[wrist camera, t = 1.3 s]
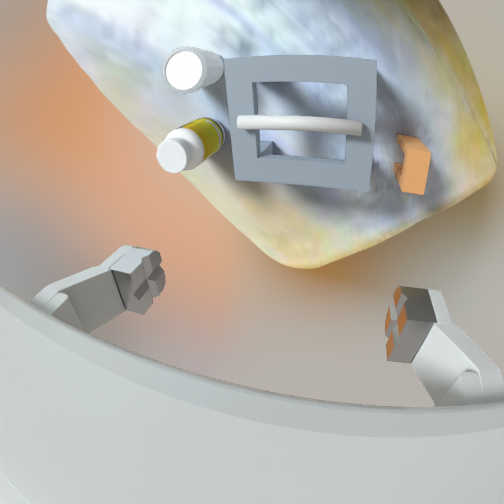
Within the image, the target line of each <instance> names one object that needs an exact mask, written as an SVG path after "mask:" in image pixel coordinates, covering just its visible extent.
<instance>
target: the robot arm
mask: <svg viewBox="0 0 504 504" xmlns="http://www.w3.org/2000/svg"><path fill="white" fill-rule="evenodd" d="M161 261H162V259H161V256H160V253H159V252H158V251H156V250H151V249H146V248H141V247H135V246H129V245H123V246H121V247H120V248H119V249H118V250H117V251H115V252H114V253H113V254H112V255H111V256H110V257H109V258H108V259H106V260H105V261H104V262H103V263H102V264H101V265H100V266H99V267H98V266H95V267H92V268H89V269H87V270H84V271H82V272H79V273H77V274H74V275H72V276H69V277H67V278H64V279H62V280H59V281H57V282H54V283H52V284H49V285H47V286H46V287H45V288H44V289H43V290H42V291H40V293H38V294H37V295H36V296H35V297H34V298H33V299H32V300H31V301H30V302H29V303H27V302H26V301H24V300H22V299H21V298H19V297H17V296H15V295H14V294H12V293H10V292H9V291H7V290H6V289H4V288H2V287H1V286H0V504H504V383H503V379H502V376H501V372H500V370H499V368H498V367H497V366H496V365H495V364H494V363H493V362H492V361H491V360H490V359H489V357H487V356H486V354H484V352H483V351H482V350H481V349H480V348H479V347H478V346H477V345H476V344H475V343H474V342H473V341H472V340H471V339H470V338H469V337H468V336H467V335H466V334H465V333H464V332H463V331H462V330H461V329H460V328H459V327H458V326H457V325H454V324H452V322H451V318H450V315H449V313H448V310H447V307H446V304H445V301H444V298H443V295H442V293H441V291H440V290H438V289H427V288H426V289H422V288H414V287H405V286H397V288H396V290H395V292H394V295H393V297H394V303H393V304H392V305H390V307H389V309H388V312H387V315H386V321H385V334H386V336H387V337H388V338H389V339H388V342H387V344H386V349H387V350H386V351H387V361H393V362H402V363H411V366H412V367H413V369H414V371H415V372H416V374H417V375H418V377H419V378H420V380H421V382H422V383H423V385H424V387H425V388H426V390H427V392H428V393H429V395H430V396H431V398H432V400H433V401H434V403H435V406H434V407H397V406H395V407H394V406H377V405H362V404H351V403H341V402H333V401H325V400H317V399H311V398H303V397H297V396H292V395H286V394H280V393H275V392H270V391H265V390H260V389H256V388H251V387H247V386H242V385H238V384H234V383H230V382H226V381H222V380H218V379H214V378H211V377H207V376H204V375H200V374H197V373H193V372H190V371H187V370H183V369H180V368H177V367H174V366H171V365H168V364H165V363H162V362H159V361H156V360H153V359H151V358H148V357H145V356H142V355H140V354H137V353H134V352H132V351H129V350H126V349H123V348H121V347H119V346H116V345H114V344H111V343H109V342H107V341H104V340H102V339H100V338H97V337H95V336H93V335H91V334H88V333H90V332H91V331H93V330H95V329H96V328H98V327H100V326H101V325H103V324H105V323H106V322H108V321H110V320H111V319H113V318H114V317H116V316H118V315H120V314H121V313H123V312H124V311H126V310H128V311H132V312H136V313H140V314H145V312H146V311H147V310H148V309H149V307H150V306H151V304H153V298H154V297H156V296H158V295H159V294H160V293H161V292H162V290H163V288H164V285H165V273H164V270H163V269H162V268H161V267H160V263H161Z"/></svg>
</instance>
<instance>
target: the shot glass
mask: <svg viewBox="0 0 504 504" xmlns="http://www.w3.org/2000/svg"><path fill="white" fill-rule="evenodd" d="M223 71H224V64H223V60H222V59H221V57H220V56H219V55H218V54H216V53H214V52H212V51H208V50H204V49H199V48H194V47H179V48H177V49H174V50H172V51H171V52H170V53H169V54H168V55H167V56H166V58H165V60H164V62H163V64H162V77H163V81H164V83H165V84H166V86H167V87H168V88H169V89H170V90H171V91H173V92H175V93H177V94H188V93H191V92H195V91H197V90H199V89H201V88H204V87H206V86H209V85H211V84H214V83H215V82H217V81H218V80H219V79H220V78H221V76H222V74H223Z"/></svg>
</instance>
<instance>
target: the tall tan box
mask: <svg viewBox="0 0 504 504" xmlns="http://www.w3.org/2000/svg"><path fill="white" fill-rule="evenodd" d="M397 143H398V144H399V146H400V147H401V149H402V151H403V152H404V154H405V156H404V163H403V164H398V163H395V164H394V173H395V175H396V178H397V180H398V183H399V186H400V188H401V191H402V192H408V193H414V194H420V195H424V190H425V186H426V180H427V175H428V170H429V164H430V158H431V152H430V151H429V150H428V149H427V148H426V146H425V145H424V144H423V143H422V142H421V141H420V140H419V139H418V138H417V137H411V136H406V135H400V134H398V137H397Z"/></svg>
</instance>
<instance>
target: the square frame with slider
mask: <svg viewBox="0 0 504 504" xmlns="http://www.w3.org/2000/svg"><path fill="white" fill-rule="evenodd" d="M224 70H225V81H226V92H227V103H228V113H229V124H230V134H231V144H232V154H233V164H234V174H235V180H239V181H256V182H271V183H285V184H296V185H307V186H318V187H327V188H336V189H345V190H353V191H361V192H368V193H369V185H370V177H371V168H372V158H373V147H374V134H375V118H376V92H377V60H370V59H361V58H352V57H340V56H323V55H270V56H253V57H241V58H231V59H224ZM283 81H288V82H322V83H337V84H347V119H339V118H327V117H313V116H290V115H258V104H257V89H256V82H283ZM259 129H270V130H298V131H314V132H327V133H339V134H346V153H345V160H335V159H325V158H314V157H301V156H285V155H273V141H260V135H259Z"/></svg>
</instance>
